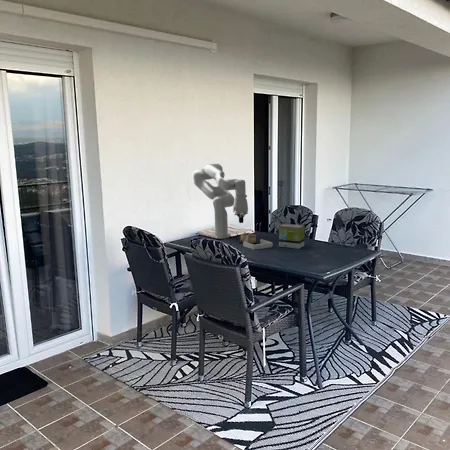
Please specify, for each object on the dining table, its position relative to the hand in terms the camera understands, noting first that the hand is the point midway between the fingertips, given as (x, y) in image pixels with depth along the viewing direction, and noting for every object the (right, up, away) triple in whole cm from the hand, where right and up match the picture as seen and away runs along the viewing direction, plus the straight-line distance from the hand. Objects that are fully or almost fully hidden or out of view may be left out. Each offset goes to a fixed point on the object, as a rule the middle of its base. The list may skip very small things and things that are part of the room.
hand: (241, 222), depth 336 cm
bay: (+11, -16, -16) cm, 25 cm away
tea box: (+33, -16, -18) cm, 42 cm away
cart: (+5, -15, -6) cm, 16 cm away
